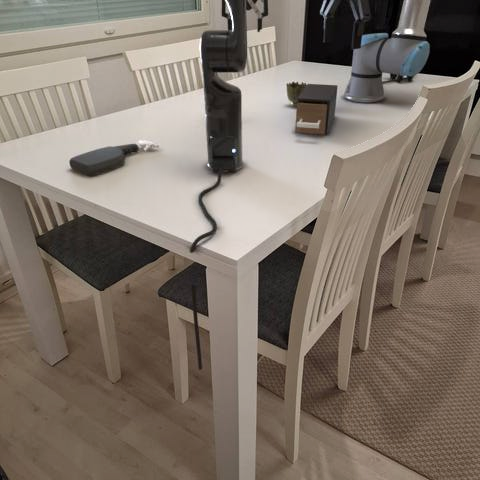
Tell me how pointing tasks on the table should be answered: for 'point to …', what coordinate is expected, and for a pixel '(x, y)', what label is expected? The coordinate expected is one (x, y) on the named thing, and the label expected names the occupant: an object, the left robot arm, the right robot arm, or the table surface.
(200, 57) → the left robot arm
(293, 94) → the cup
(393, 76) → the squiggle
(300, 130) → the drawer
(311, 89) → the cabinet
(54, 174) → the table surface
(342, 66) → the table surface
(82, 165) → the spray bottle
